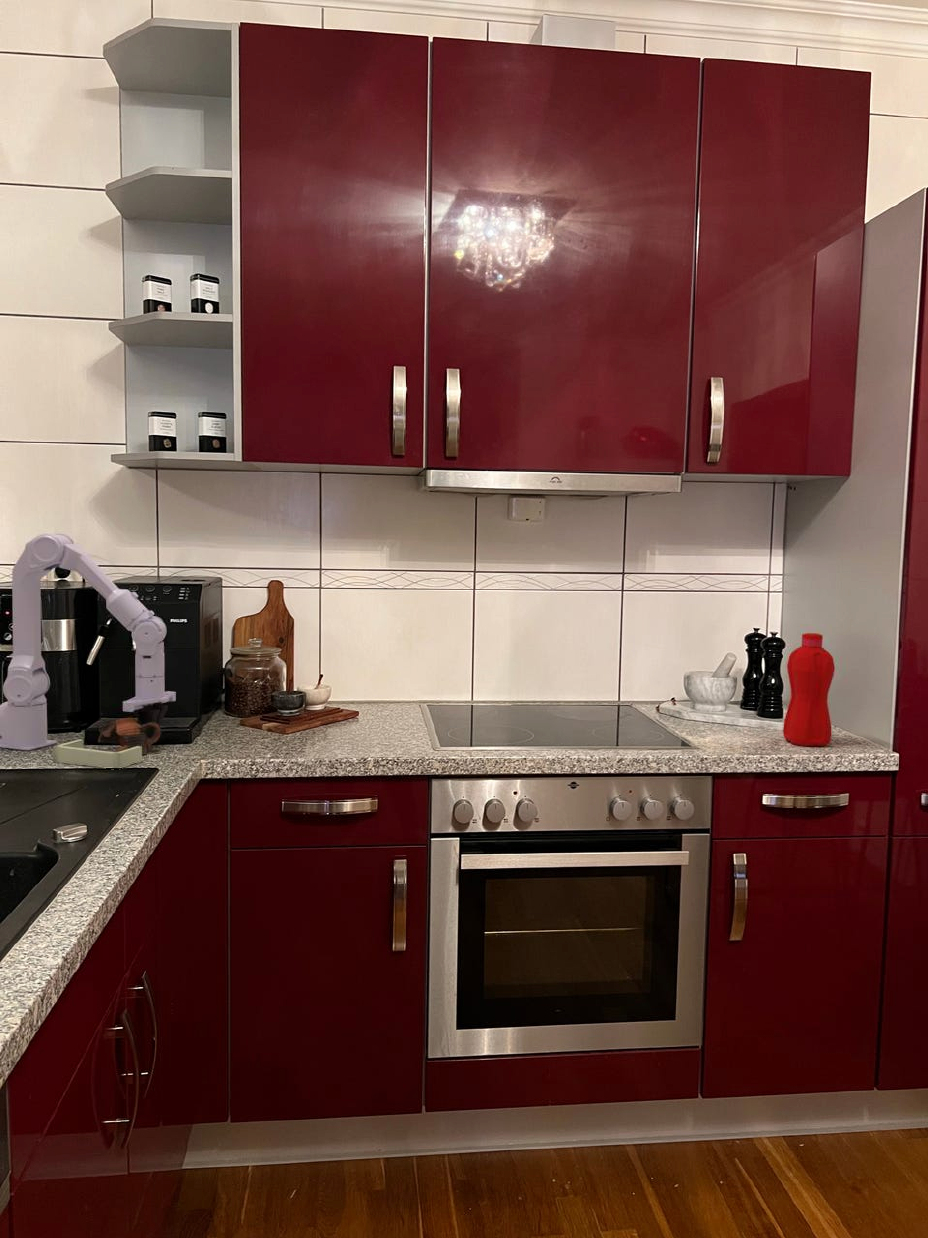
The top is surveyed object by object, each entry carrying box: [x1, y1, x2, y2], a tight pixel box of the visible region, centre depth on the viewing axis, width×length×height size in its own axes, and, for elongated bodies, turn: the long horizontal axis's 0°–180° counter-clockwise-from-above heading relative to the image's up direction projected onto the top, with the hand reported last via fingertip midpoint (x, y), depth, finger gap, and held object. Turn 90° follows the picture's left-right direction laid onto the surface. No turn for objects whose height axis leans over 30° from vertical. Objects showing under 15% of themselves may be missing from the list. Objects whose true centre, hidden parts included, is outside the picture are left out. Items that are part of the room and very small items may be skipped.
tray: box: [52, 738, 143, 768], centre depth 180 cm, size 15×7×3 cm, turn 70°
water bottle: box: [782, 632, 836, 747], centre depth 212 cm, size 9×11×25 cm
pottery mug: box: [97, 717, 162, 756], centre depth 189 cm, size 12×10×8 cm
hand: (150, 740), depth 195 cm, fingers closed
